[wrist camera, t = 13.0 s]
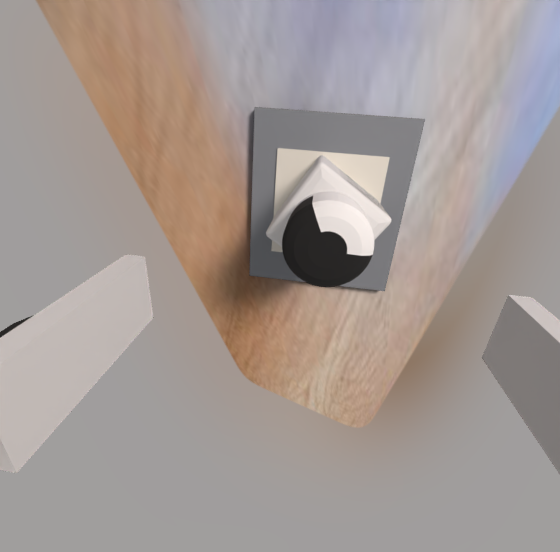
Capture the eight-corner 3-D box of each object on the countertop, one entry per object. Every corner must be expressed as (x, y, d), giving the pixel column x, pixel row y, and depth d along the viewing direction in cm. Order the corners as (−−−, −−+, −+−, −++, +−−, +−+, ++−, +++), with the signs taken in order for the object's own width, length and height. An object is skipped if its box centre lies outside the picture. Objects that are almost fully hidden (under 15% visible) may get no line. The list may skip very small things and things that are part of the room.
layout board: (256, 107, 32) (254, 106, 31) (422, 119, 30) (425, 119, 29) (251, 272, 39) (249, 276, 38) (383, 287, 38) (384, 291, 37)
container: (330, 256, 36) (333, 317, 24) (275, 213, 35) (251, 257, 23) (379, 201, 33) (410, 242, 21) (321, 153, 32) (319, 167, 20)
